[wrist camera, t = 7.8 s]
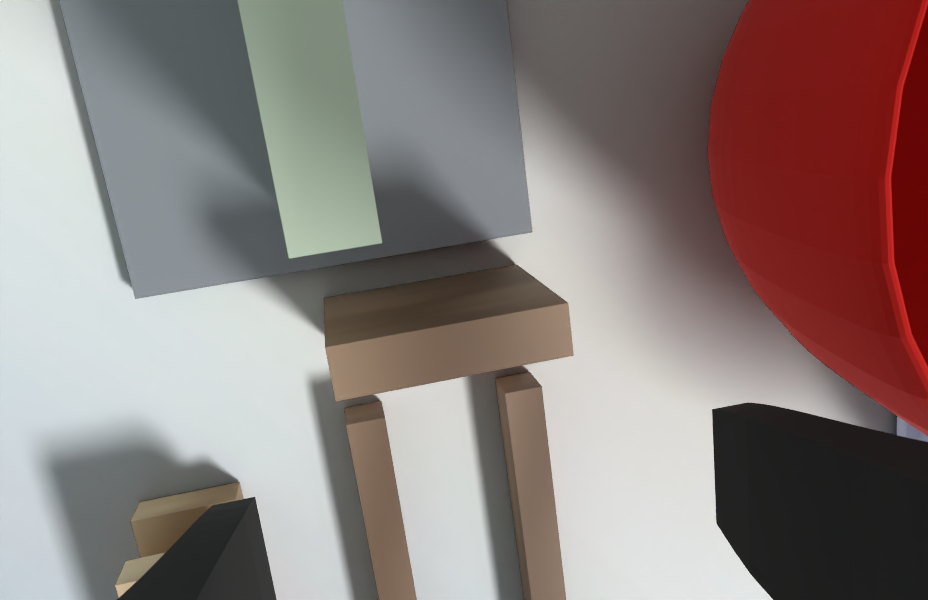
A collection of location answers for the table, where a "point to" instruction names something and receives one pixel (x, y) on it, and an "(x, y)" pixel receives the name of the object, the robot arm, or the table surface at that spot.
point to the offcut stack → (168, 526)
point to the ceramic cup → (832, 182)
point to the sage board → (311, 123)
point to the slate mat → (244, 147)
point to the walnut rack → (443, 358)
